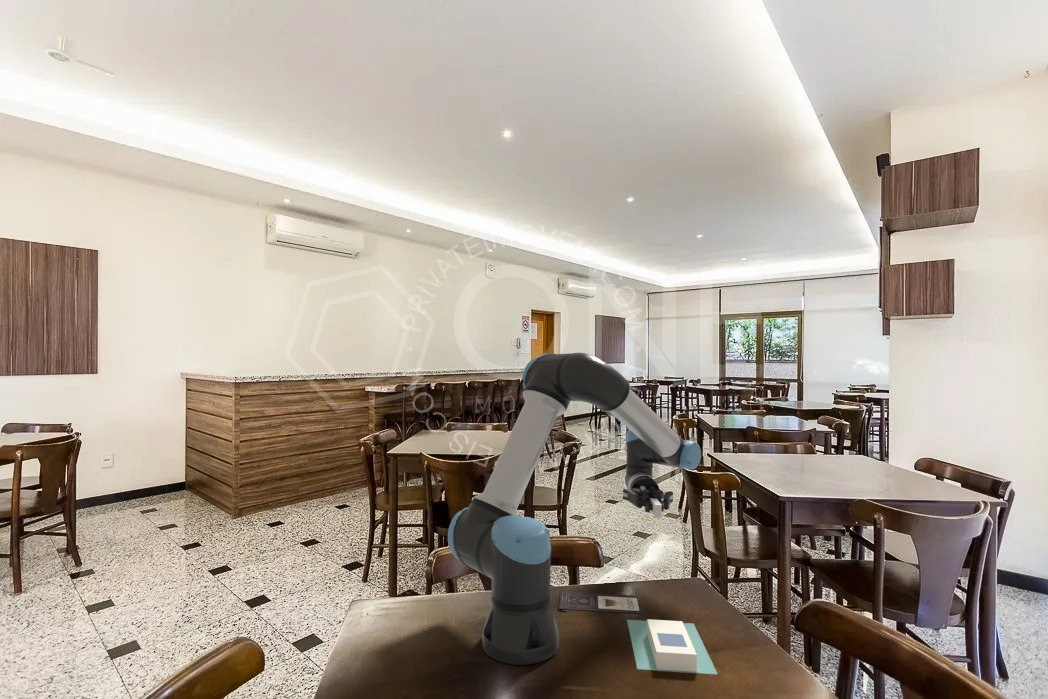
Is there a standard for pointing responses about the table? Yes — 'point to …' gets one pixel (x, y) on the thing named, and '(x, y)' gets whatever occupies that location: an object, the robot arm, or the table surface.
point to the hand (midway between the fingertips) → (658, 511)
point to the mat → (645, 653)
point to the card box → (671, 645)
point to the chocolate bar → (598, 602)
